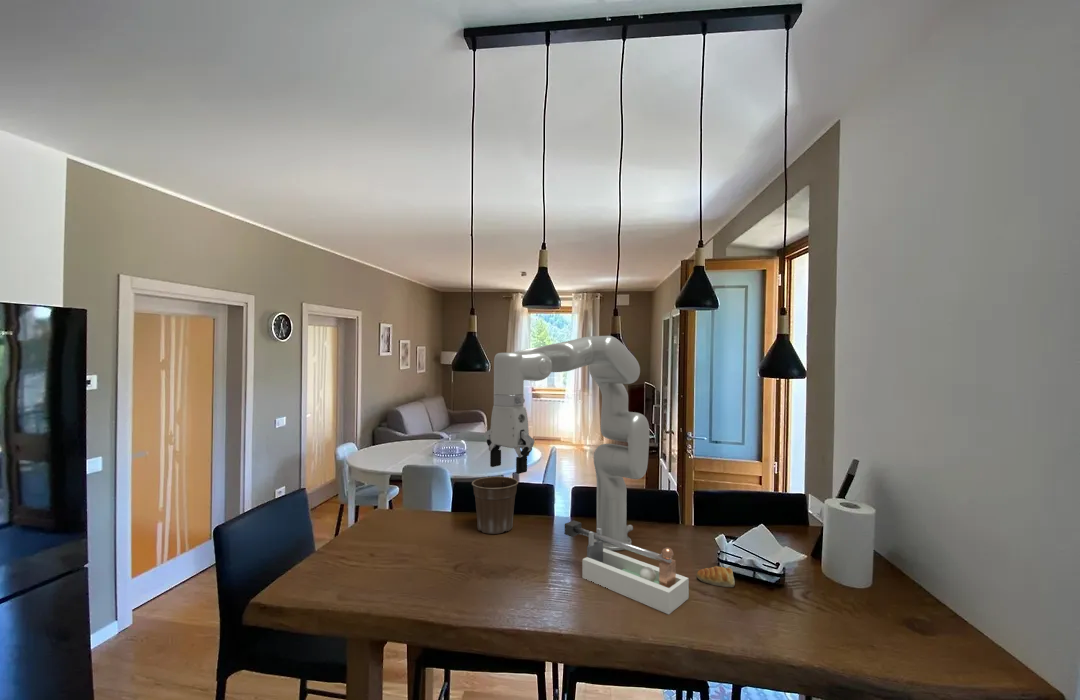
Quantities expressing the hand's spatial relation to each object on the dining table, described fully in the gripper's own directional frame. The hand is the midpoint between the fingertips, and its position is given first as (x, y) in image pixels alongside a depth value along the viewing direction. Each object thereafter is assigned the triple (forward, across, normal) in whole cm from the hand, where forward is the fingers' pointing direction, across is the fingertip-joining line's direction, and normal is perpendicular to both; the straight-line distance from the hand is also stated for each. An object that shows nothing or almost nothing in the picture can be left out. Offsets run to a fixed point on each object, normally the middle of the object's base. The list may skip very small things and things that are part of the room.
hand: (508, 469), depth 115 cm
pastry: (+32, -35, -44) cm, 65 cm away
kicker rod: (+28, -15, -25) cm, 41 cm away
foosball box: (+31, -21, -25) cm, 45 cm away
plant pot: (+32, +37, -27) cm, 56 cm away
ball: (+29, -25, -25) cm, 46 cm away
